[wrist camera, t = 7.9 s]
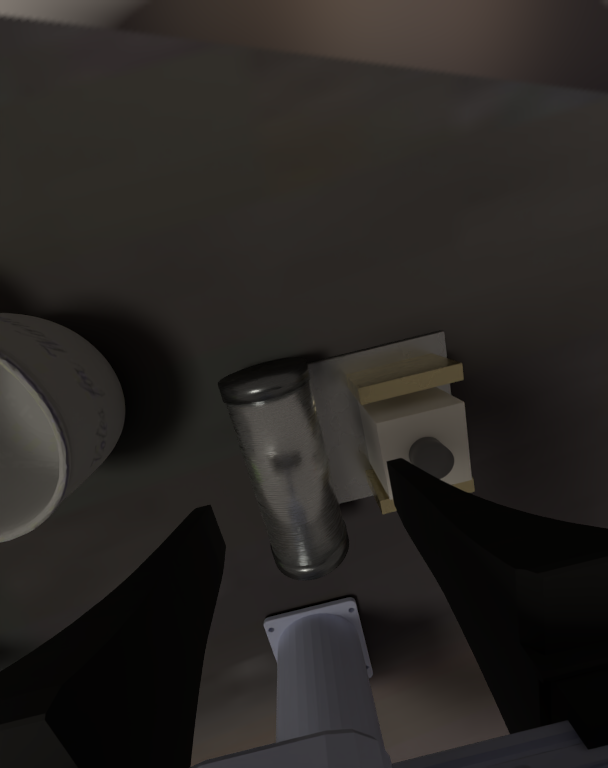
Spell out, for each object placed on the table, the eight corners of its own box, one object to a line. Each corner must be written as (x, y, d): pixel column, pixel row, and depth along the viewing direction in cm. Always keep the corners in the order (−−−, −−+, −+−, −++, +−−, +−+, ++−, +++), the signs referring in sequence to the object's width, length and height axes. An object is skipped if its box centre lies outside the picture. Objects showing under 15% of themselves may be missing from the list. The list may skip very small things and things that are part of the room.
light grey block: (436, 446, 22) (484, 491, 17) (369, 462, 22) (397, 513, 17) (427, 382, 21) (477, 409, 16) (357, 399, 21) (383, 432, 15)
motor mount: (456, 478, 24) (508, 531, 18) (270, 524, 24) (266, 591, 18) (438, 319, 20) (495, 324, 15) (222, 371, 20) (199, 396, 15)
